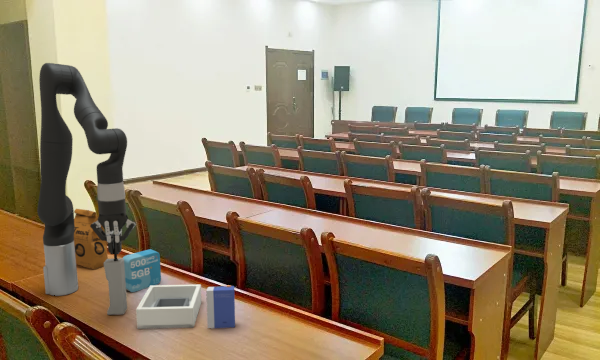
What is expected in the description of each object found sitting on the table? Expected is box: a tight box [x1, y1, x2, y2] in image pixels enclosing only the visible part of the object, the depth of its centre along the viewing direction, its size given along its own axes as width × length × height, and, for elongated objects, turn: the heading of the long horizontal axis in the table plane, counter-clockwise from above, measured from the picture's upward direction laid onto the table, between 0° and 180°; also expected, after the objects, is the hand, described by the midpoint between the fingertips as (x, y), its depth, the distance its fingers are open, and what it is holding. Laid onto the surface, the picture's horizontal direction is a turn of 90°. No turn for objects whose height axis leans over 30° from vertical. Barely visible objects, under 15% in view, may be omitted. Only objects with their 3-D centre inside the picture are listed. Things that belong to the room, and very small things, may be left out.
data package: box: [122, 248, 162, 293], centre depth 169 cm, size 12×4×12 cm, turn 137°
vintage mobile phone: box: [103, 233, 128, 316], centre depth 148 cm, size 4×5×25 cm
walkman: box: [205, 284, 236, 329], centre depth 142 cm, size 8×3×12 cm, turn 96°
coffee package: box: [74, 208, 109, 270], centre depth 188 cm, size 10×12×22 cm
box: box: [135, 283, 202, 330], centre depth 149 cm, size 16×17×6 cm
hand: (115, 253), depth 147 cm, fingers closed on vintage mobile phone, 1 cm apart
